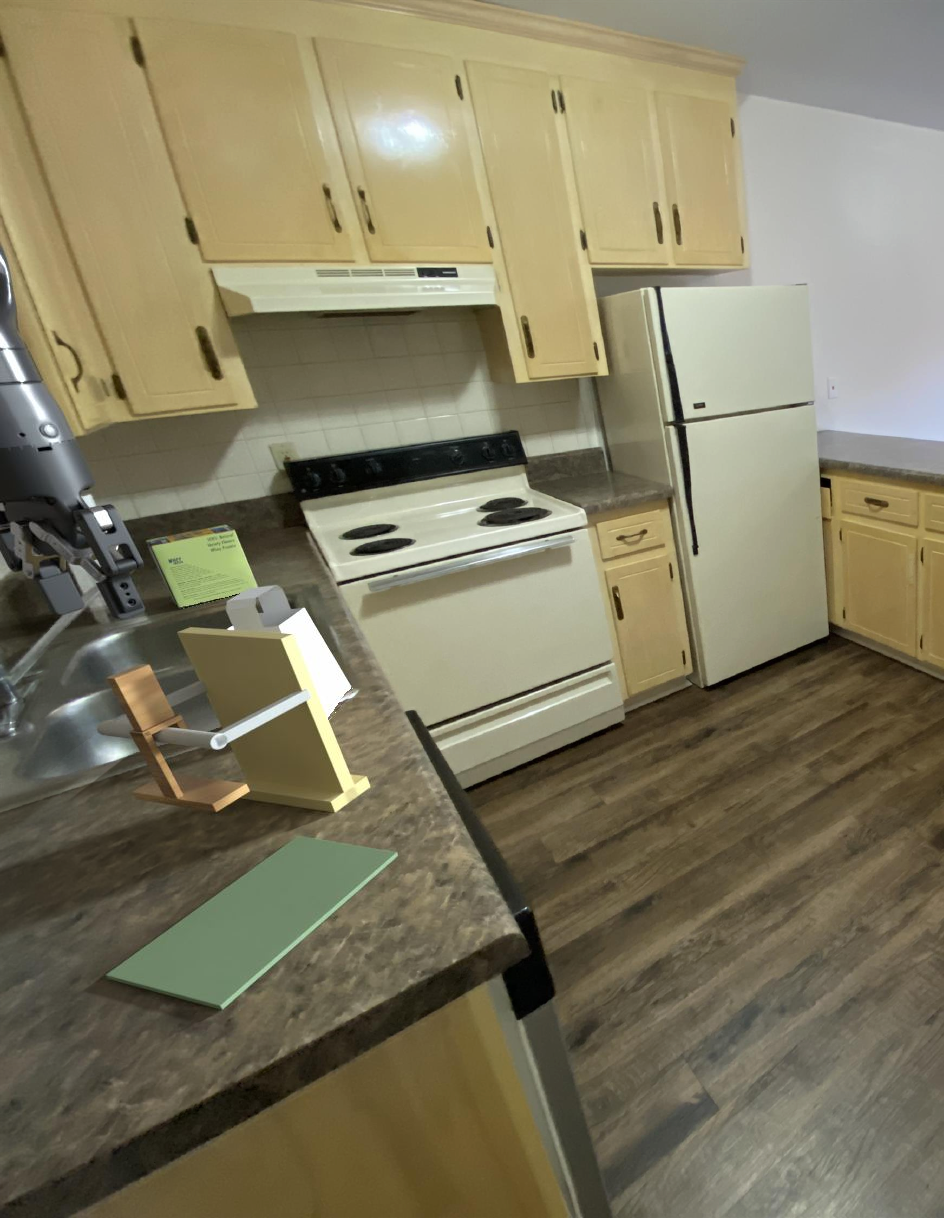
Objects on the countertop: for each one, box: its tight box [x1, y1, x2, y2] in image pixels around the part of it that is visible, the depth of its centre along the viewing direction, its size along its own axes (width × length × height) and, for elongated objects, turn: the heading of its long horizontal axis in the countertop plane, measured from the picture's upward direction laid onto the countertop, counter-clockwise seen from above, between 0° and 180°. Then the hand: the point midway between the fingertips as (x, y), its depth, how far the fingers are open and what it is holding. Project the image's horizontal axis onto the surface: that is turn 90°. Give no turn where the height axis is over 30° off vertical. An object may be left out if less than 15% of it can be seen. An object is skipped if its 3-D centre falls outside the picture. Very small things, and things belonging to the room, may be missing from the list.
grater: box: [225, 584, 352, 718], centre depth 99 cm, size 10×10×20 cm
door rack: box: [96, 626, 371, 814], centre depth 75 cm, size 13×17×22 cm
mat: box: [105, 835, 399, 1011], centre depth 65 cm, size 14×18×1 cm
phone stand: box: [105, 663, 250, 813], centre depth 68 cm, size 4×12×15 cm, turn 75°
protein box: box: [144, 524, 259, 608], centre depth 159 cm, size 10×15×16 cm
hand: (100, 614), depth 63 cm, fingers open, 8 cm apart
